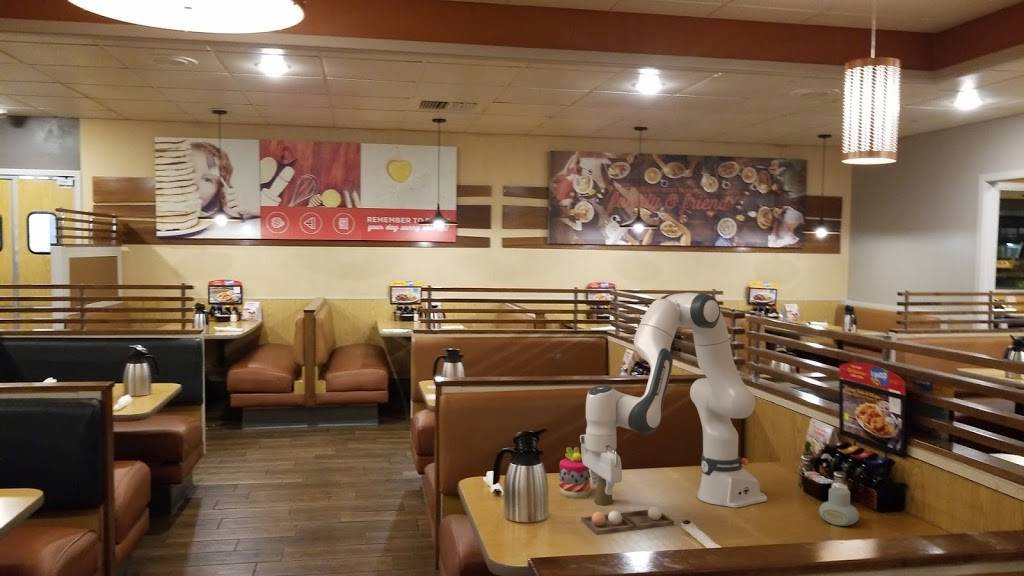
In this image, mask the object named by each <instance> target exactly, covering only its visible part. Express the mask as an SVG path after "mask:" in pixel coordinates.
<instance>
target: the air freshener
mask: <svg viewBox="0 0 1024 576" xmlns="http://www.w3.org/2000/svg"><path fill="white" fill-rule="evenodd" d="M818 509H819V510H818V513H819V515H820V517H821V518H822V519H823V520H824V521H825V522H827V523H829V524H830V525H832V526H836V527H846V526H851V525H854V524H855V523H856V522H857V521H859V518H860V513H859V510H858V509H857V507H855V506H854V505H853V504H851V491H850V490H849V489H847V488H845V487H839V486H832V487H830V488H829V489H828V501H825V502H823V503H822V504H821V505H820V506H819V508H818Z"/></svg>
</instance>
